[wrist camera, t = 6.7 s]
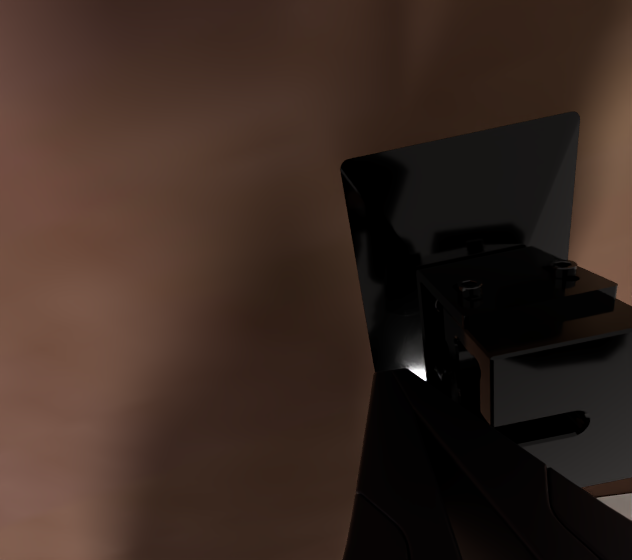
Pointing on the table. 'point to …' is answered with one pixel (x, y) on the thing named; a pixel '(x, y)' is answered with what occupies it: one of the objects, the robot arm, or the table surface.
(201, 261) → the table surface
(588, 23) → the table surface
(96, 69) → the table surface
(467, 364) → the build plate
